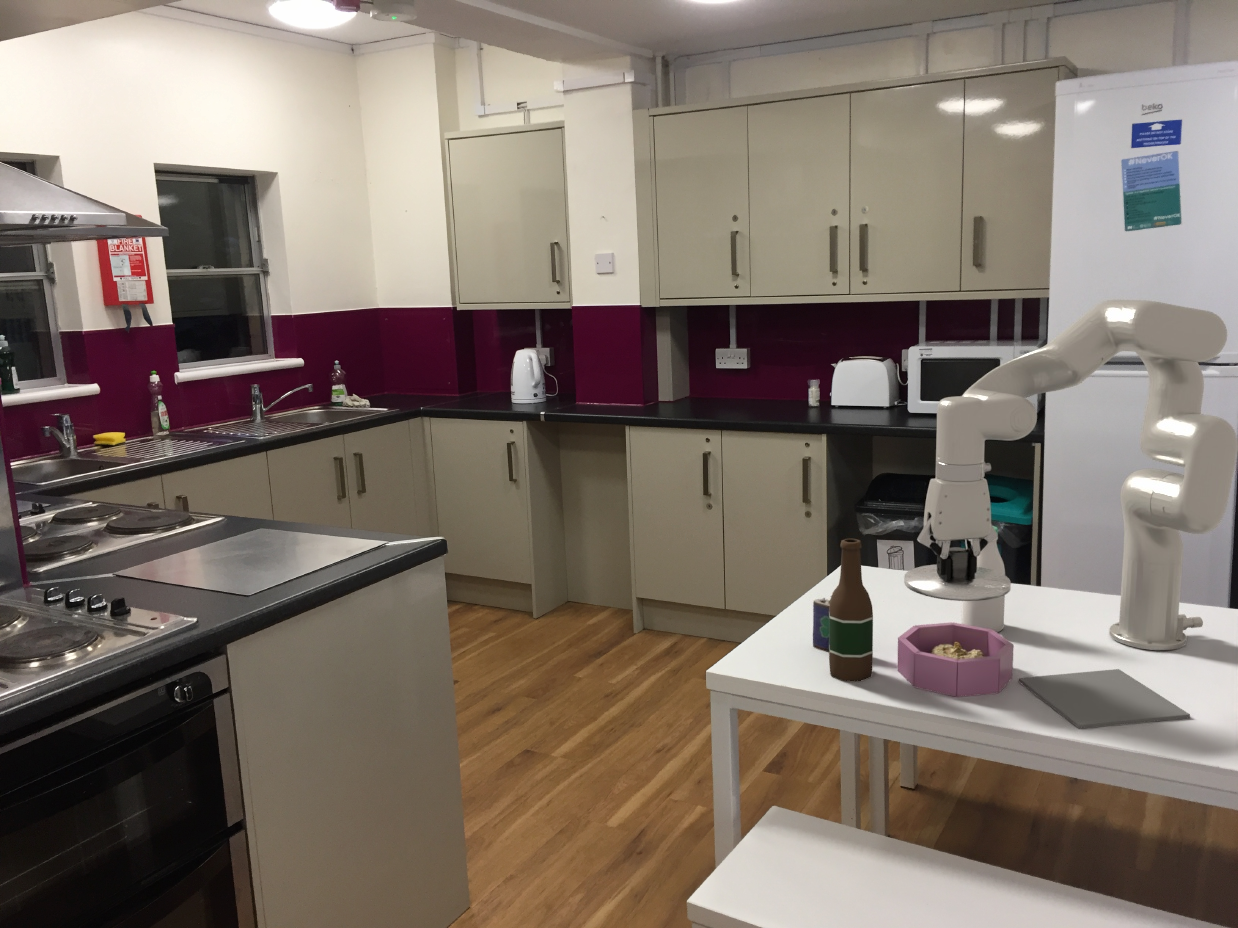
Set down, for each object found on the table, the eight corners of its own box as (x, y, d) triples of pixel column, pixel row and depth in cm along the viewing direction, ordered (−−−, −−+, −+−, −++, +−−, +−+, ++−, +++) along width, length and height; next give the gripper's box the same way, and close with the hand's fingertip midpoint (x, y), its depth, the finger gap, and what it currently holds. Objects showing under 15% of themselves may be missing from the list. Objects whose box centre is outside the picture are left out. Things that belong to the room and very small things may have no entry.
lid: (980, 566, 180) (981, 533, 178) (1030, 596, 163) (1031, 560, 162) (888, 573, 178) (889, 540, 176) (929, 604, 161) (930, 568, 160)
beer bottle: (865, 685, 170) (866, 548, 166) (821, 677, 174) (820, 543, 170) (879, 669, 177) (880, 537, 172) (836, 661, 181) (837, 532, 176)
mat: (1118, 672, 172) (1118, 668, 172) (1189, 717, 154) (1190, 714, 154) (1018, 681, 170) (1018, 677, 170) (1078, 728, 152) (1079, 724, 152)
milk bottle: (1006, 635, 190) (1010, 532, 186) (963, 633, 192) (966, 532, 188) (999, 621, 198) (1003, 522, 194) (958, 619, 199) (961, 521, 195)
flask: (861, 652, 185) (861, 597, 182) (854, 658, 182) (854, 601, 180) (816, 642, 190) (816, 588, 188) (808, 647, 188) (808, 592, 186)
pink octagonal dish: (978, 651, 183) (979, 620, 182) (1027, 690, 166) (1029, 655, 165) (886, 659, 181) (886, 627, 180) (926, 699, 164) (927, 664, 163)
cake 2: (980, 689, 169) (980, 659, 168) (920, 679, 175) (919, 650, 173) (994, 664, 177) (994, 635, 176) (936, 655, 183) (936, 627, 181)
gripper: (996, 464, 171) (992, 568, 175) (902, 470, 169) (900, 575, 173) (1018, 473, 164) (1014, 581, 168) (920, 479, 162) (918, 588, 166)
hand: (956, 577), depth 170 cm, fingers closed on lid, 3 cm apart
